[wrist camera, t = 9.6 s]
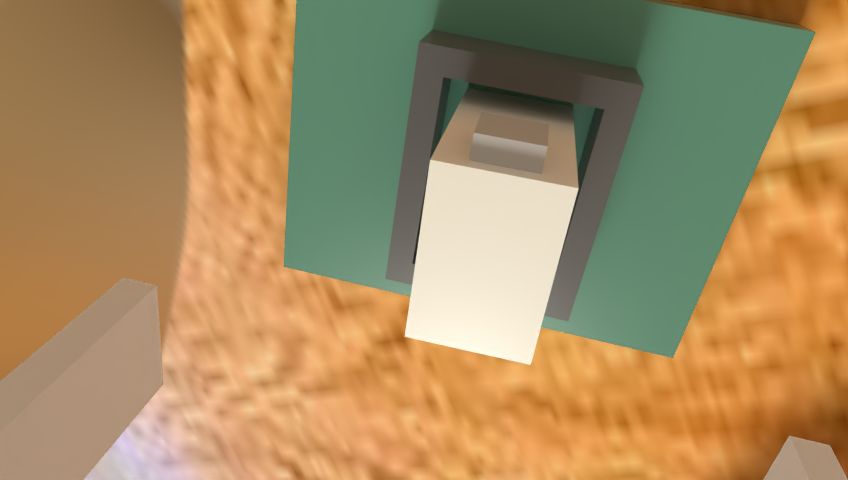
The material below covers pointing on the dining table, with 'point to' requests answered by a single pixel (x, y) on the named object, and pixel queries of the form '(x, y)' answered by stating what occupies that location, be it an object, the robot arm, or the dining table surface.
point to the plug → (493, 225)
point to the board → (593, 125)
